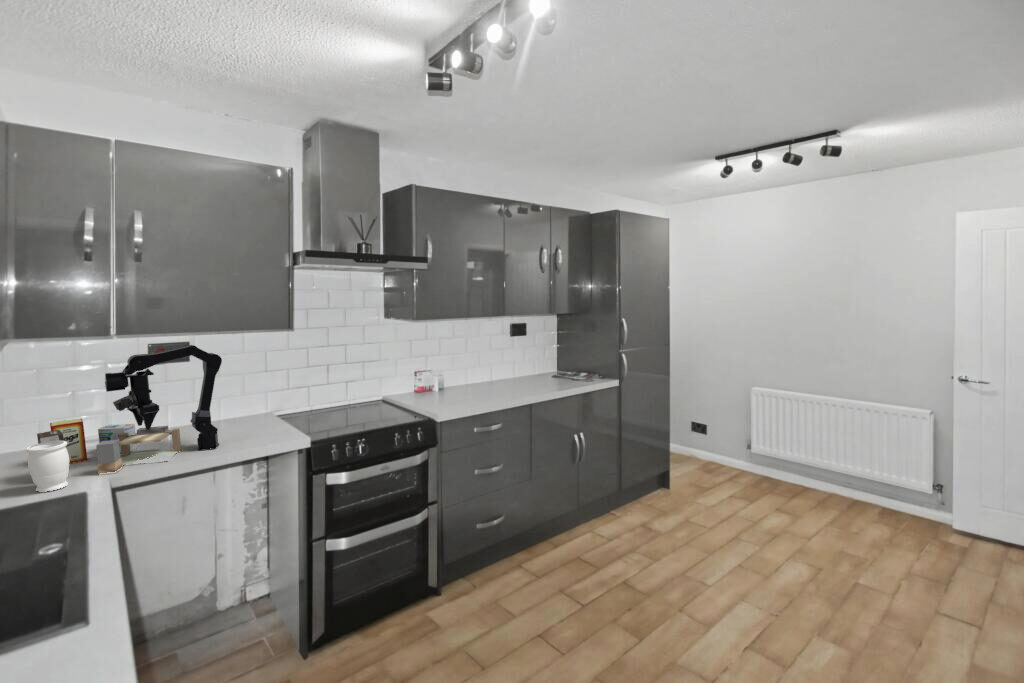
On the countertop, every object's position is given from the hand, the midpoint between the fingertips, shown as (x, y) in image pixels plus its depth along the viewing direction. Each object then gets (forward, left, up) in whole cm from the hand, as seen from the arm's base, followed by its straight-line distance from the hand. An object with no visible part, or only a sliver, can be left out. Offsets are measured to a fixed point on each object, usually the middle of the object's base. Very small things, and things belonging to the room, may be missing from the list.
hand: (144, 427), depth 201 cm
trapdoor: (+1, -5, -6) cm, 7 cm away
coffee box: (+25, +11, -13) cm, 30 cm away
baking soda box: (+29, -8, -13) cm, 33 cm away
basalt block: (+8, +11, -9) cm, 16 cm away
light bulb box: (+16, -16, -13) cm, 27 cm away
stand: (+1, -3, -13) cm, 13 cm away
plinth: (+8, +11, -13) cm, 18 cm away
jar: (+20, +23, -13) cm, 33 cm away
